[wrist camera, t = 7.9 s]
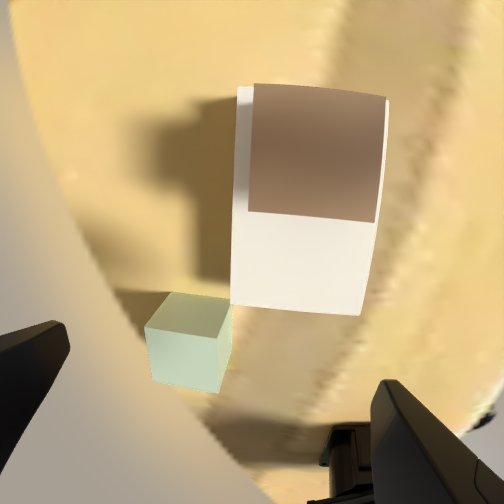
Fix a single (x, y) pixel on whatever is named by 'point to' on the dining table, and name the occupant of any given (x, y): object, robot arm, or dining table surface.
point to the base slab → (295, 245)
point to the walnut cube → (316, 152)
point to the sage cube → (190, 341)
